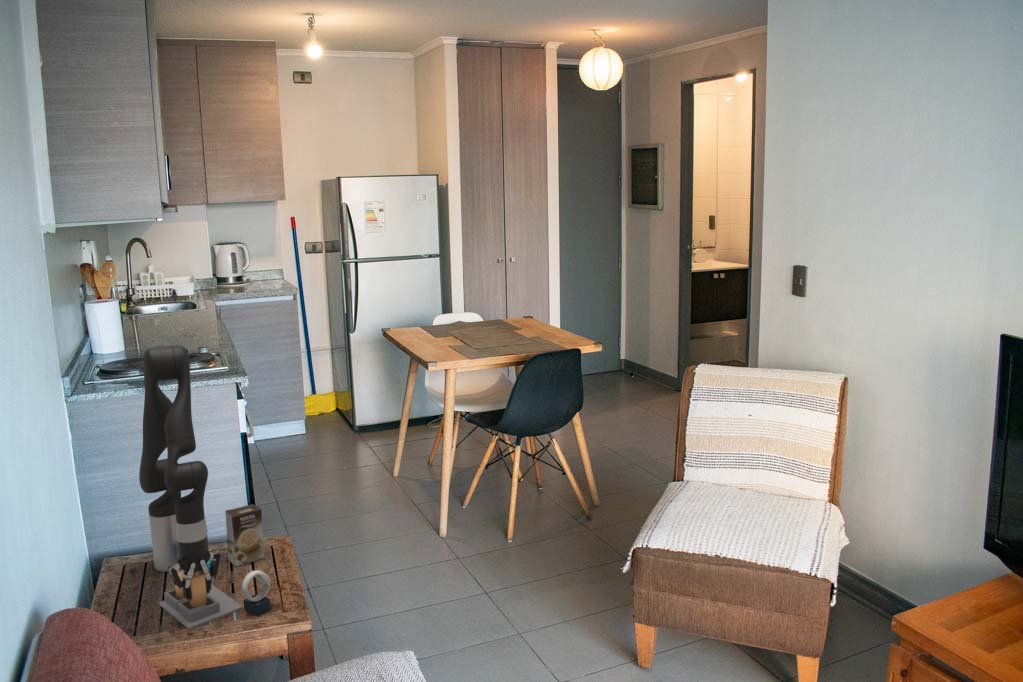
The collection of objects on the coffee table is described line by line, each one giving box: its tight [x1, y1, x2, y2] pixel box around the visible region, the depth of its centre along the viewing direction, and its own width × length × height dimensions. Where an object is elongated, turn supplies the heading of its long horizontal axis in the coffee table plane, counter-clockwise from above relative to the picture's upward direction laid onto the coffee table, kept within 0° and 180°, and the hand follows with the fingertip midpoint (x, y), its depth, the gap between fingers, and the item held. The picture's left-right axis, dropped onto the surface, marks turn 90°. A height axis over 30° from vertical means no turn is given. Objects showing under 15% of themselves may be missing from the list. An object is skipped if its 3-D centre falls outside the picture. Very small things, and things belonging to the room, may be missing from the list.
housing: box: [158, 570, 244, 631], centre depth 228 cm, size 19×15×9 cm
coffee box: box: [225, 503, 265, 567], centre depth 255 cm, size 9×6×16 cm
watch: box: [240, 569, 272, 617], centre depth 225 cm, size 6×8×11 cm
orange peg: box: [190, 571, 207, 607], centre depth 223 cm, size 4×4×8 cm
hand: (197, 595), depth 223 cm, fingers closed on orange peg, 4 cm apart
